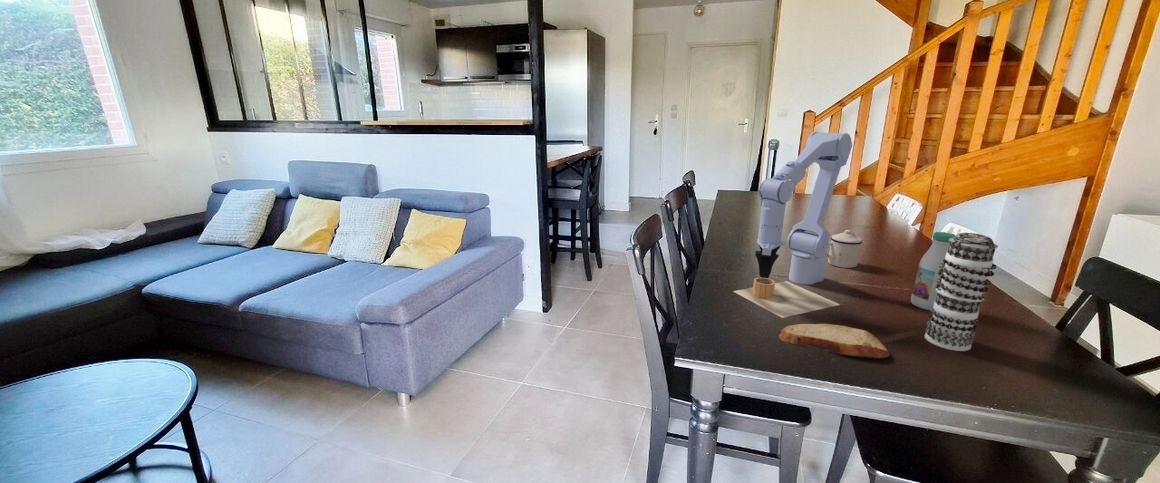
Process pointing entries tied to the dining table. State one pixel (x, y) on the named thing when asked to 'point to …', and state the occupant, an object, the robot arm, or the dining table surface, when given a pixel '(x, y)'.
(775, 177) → the robot arm
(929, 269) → the milk bottle
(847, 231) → the teacup with lid
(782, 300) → the board
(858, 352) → the slice of bread
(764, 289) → the sleeve
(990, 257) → the decorative candle
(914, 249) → the dining table surface
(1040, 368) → the dining table surface
